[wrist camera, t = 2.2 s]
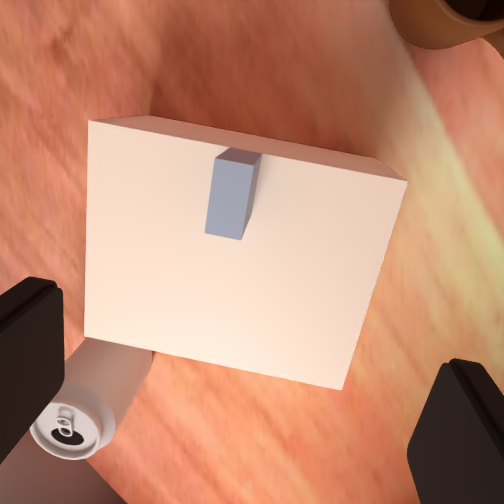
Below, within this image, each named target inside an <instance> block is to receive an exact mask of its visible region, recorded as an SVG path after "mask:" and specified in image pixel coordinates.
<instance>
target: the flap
mask: <svg viewBox="0 0 504 504" xmlns="http://www.w3.org/2000/svg"><path fill="white" fill-rule="evenodd" d="M407 184H408V181H407V180H405V179H400V178H394V177H389V176H384V175H379V174H374V173H368V172H363V171H358V170H353V169H347V168H342V167H337V166H332V165H327V164H321V163H316V162H311V161H306V160H300V159H295V158H290V157H285V156H280V155H274V154H269V153H264V152H259V151H253V150H248V149H243V148H238V147H232V146H227V145H222V144H217V143H212V142H206V141H201V140H196V139H191V138H185V137H180V136H175V135H170V134H165V133H159V132H154V131H149V130H144V129H138V128H133V127H128V126H123V125H118V124H112V123H107V122H102V121H97V120H89V124H88V173H87V222H86V271H85V320H84V336H86V337H91V338H95V339H100V340H105V341H109V342H114V343H119V344H124V345H128V346H133V347H138V348H143V349H147V350H152V351H157V352H162V353H166V354H171V355H176V356H180V357H185V358H190V359H195V360H199V361H204V362H209V363H214V364H218V365H223V366H228V367H232V368H237V369H242V370H247V371H251V372H256V373H261V374H266V375H270V376H275V377H280V378H284V379H289V380H294V381H299V382H303V383H308V384H313V385H318V386H322V387H327V388H332V389H336V390H342V387H343V384H344V381H345V378H346V375H347V372H348V369H349V365H350V362H351V359H352V356H353V353H354V350H355V347H356V344H357V340H358V337H359V334H360V331H361V328H362V325H363V322H364V319H365V315H366V312H367V309H368V306H369V303H370V300H371V297H372V294H373V290H374V287H375V284H376V281H377V278H378V275H379V272H380V269H381V265H382V262H383V259H384V256H385V253H386V250H387V247H388V244H389V241H390V237H391V234H392V231H393V228H394V225H395V222H396V219H397V216H398V212H399V209H400V206H401V203H402V200H403V197H404V194H405V191H406V187H407Z"/></svg>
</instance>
